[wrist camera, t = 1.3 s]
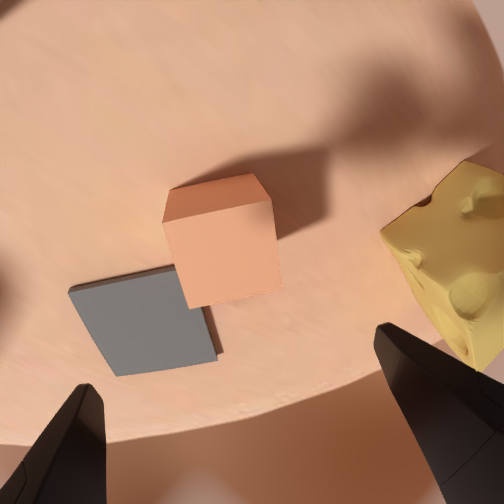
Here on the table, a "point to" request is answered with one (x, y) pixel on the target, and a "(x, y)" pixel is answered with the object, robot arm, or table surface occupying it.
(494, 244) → the cheese
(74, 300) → the coaster
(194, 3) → the table surface
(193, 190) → the cube
